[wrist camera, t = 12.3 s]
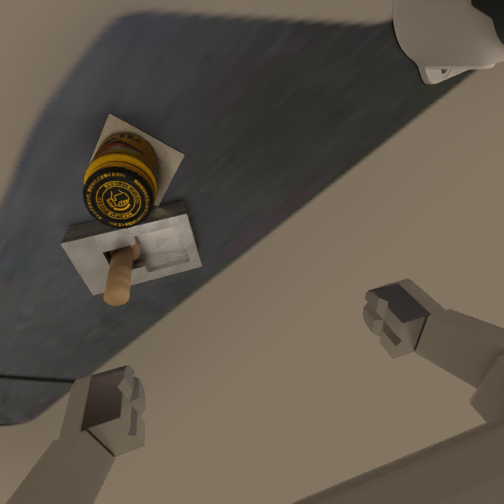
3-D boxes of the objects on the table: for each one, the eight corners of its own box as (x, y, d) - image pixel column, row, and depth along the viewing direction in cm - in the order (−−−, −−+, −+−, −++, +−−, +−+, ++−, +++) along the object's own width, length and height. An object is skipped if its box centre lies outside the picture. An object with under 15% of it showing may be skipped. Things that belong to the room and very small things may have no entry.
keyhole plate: (183, 200, 37) (186, 213, 34) (198, 250, 42) (201, 266, 38) (69, 226, 35) (60, 243, 32) (97, 275, 39) (93, 295, 36)
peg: (134, 228, 37) (129, 277, 29) (144, 253, 39) (142, 304, 31) (101, 236, 36) (87, 288, 28) (114, 261, 38) (104, 315, 30)
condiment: (109, 113, 30) (88, 141, 20) (184, 154, 34) (196, 193, 24) (85, 174, 32) (56, 224, 23) (158, 205, 36) (159, 259, 27)
